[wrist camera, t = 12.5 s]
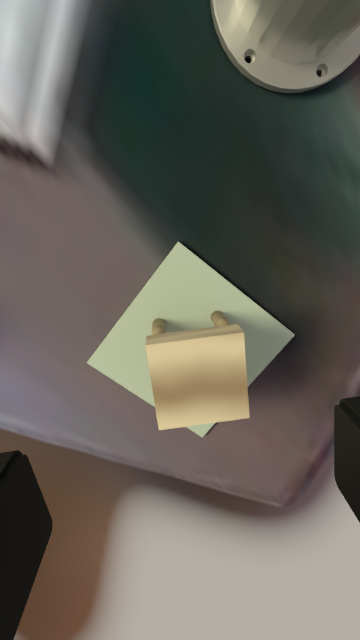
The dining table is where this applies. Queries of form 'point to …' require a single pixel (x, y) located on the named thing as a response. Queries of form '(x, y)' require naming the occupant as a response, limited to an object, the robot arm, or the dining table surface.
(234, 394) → the stool
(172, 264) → the mat
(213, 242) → the dining table surface
